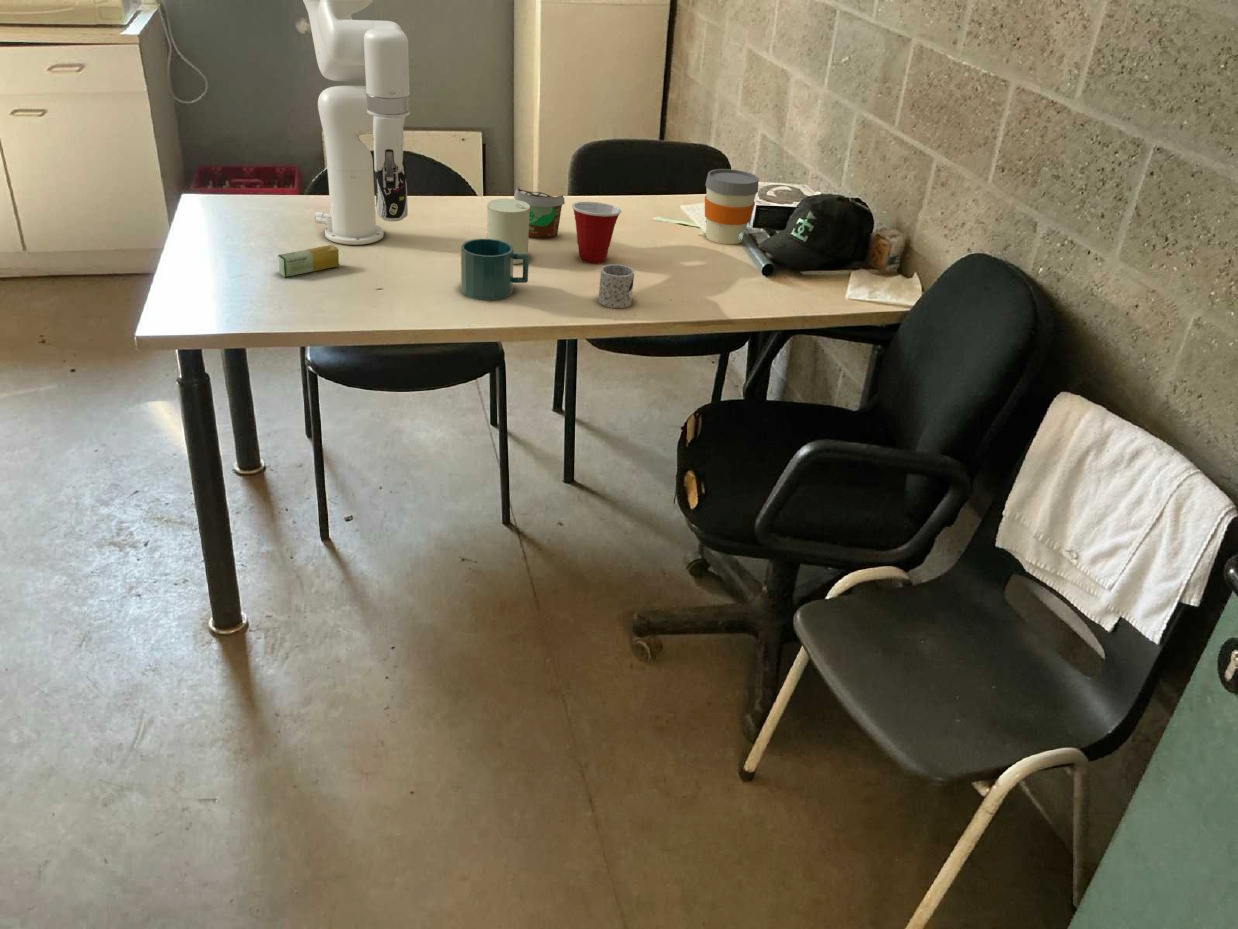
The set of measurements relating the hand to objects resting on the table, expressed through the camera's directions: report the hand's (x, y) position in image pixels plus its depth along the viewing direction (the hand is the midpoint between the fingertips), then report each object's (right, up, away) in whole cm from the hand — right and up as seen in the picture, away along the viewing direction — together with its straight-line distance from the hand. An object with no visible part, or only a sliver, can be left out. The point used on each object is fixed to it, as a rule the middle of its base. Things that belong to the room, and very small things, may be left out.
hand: (391, 203), depth 183 cm
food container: (+23, +4, +42) cm, 48 cm away
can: (+19, -4, +29) cm, 35 cm away
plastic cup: (+37, -4, +32) cm, 49 cm away
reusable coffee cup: (+69, +6, +52) cm, 87 cm away
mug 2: (+42, -16, +14) cm, 47 cm away
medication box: (-20, -10, +13) cm, 26 cm away
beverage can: (0, -2, +2) cm, 3 cm away
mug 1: (+18, -14, +12) cm, 26 cm away
